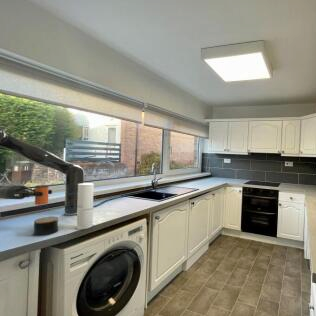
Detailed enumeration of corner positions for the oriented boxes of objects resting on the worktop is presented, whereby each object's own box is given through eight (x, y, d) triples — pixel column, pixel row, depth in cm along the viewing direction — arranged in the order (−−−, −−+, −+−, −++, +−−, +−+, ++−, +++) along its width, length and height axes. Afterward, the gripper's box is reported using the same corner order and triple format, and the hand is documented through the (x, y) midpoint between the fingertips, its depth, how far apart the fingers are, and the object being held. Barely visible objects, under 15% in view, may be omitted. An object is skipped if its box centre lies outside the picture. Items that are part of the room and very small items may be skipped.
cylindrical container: (82, 224, 116) (83, 182, 116) (95, 224, 117) (96, 183, 116) (73, 229, 109) (74, 184, 109) (86, 229, 110) (88, 185, 109)
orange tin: (45, 201, 112) (46, 184, 112) (50, 203, 110) (50, 185, 110) (32, 203, 107) (33, 185, 107) (37, 205, 105) (37, 186, 105)
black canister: (52, 227, 109) (52, 215, 109) (61, 231, 106) (61, 218, 106) (29, 233, 101) (30, 220, 101) (38, 237, 97) (39, 223, 97)
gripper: (-2, 187, 100) (35, 188, 101) (26, 183, 114) (57, 184, 116) (-2, 202, 100) (34, 203, 101) (26, 196, 114) (57, 196, 116)
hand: (46, 193), depth 109 cm, fingers closed on orange tin, 5 cm apart
